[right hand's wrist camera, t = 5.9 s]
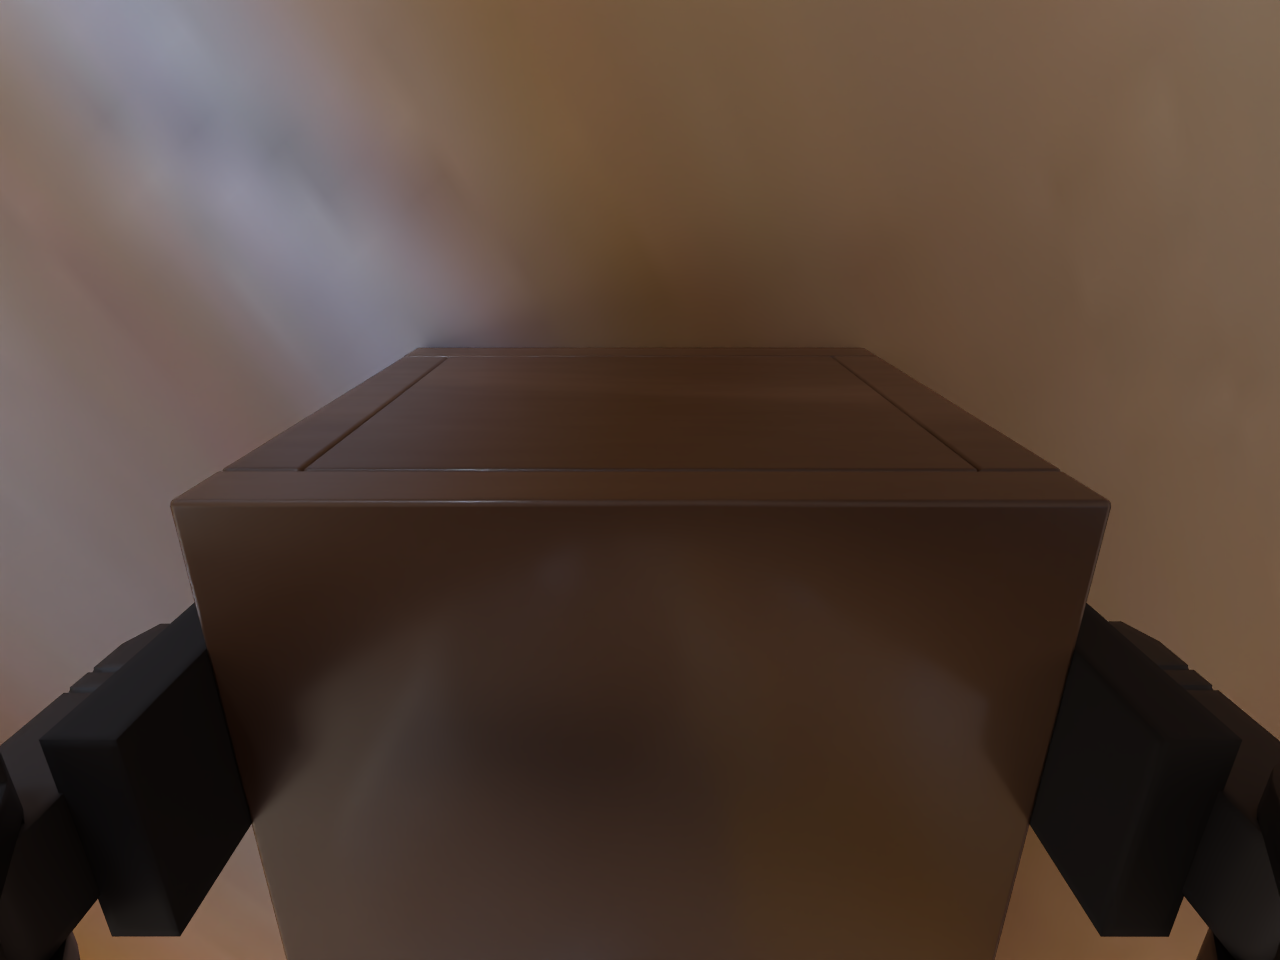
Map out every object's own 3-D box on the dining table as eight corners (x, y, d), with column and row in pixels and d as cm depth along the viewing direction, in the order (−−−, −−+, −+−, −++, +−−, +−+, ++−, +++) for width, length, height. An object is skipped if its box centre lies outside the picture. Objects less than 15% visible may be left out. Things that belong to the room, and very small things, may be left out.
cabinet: (795, 962, 23) (883, 1393, 15) (485, 961, 23) (396, 1393, 15) (864, 347, 16) (1116, 501, 8) (416, 347, 16) (165, 501, 8)
